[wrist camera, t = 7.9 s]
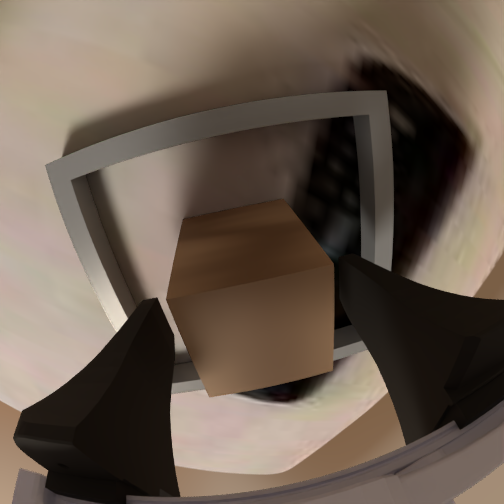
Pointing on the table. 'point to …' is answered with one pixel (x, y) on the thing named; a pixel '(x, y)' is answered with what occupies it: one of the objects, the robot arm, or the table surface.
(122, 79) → the table surface
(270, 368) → the walnut block
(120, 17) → the table surface
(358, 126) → the tray frame
